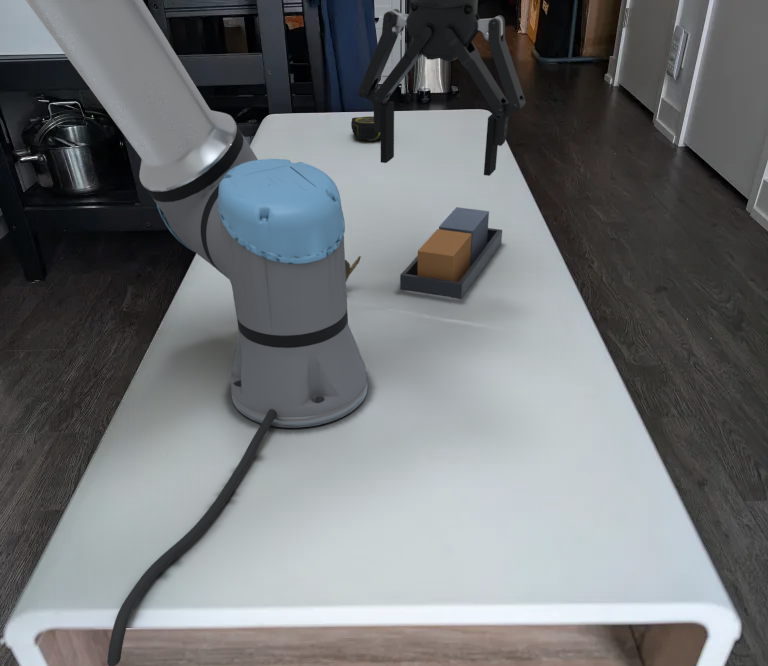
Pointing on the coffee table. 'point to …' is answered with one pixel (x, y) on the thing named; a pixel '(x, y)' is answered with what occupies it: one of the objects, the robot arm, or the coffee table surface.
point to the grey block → (469, 227)
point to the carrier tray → (447, 287)
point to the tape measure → (364, 128)
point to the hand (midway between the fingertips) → (437, 166)
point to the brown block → (445, 255)
